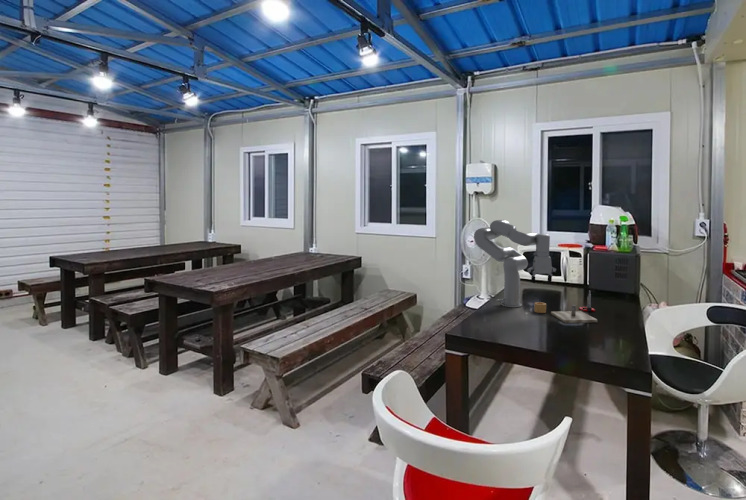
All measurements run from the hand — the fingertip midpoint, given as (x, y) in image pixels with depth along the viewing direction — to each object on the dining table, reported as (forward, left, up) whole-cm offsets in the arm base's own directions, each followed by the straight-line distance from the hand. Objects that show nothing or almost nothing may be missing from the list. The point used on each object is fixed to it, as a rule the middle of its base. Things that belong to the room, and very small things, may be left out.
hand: (541, 282), depth 255 cm
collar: (0, 0, -18) cm, 18 cm away
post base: (+13, -15, -18) cm, 27 cm away
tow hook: (+30, +2, -18) cm, 35 cm away
